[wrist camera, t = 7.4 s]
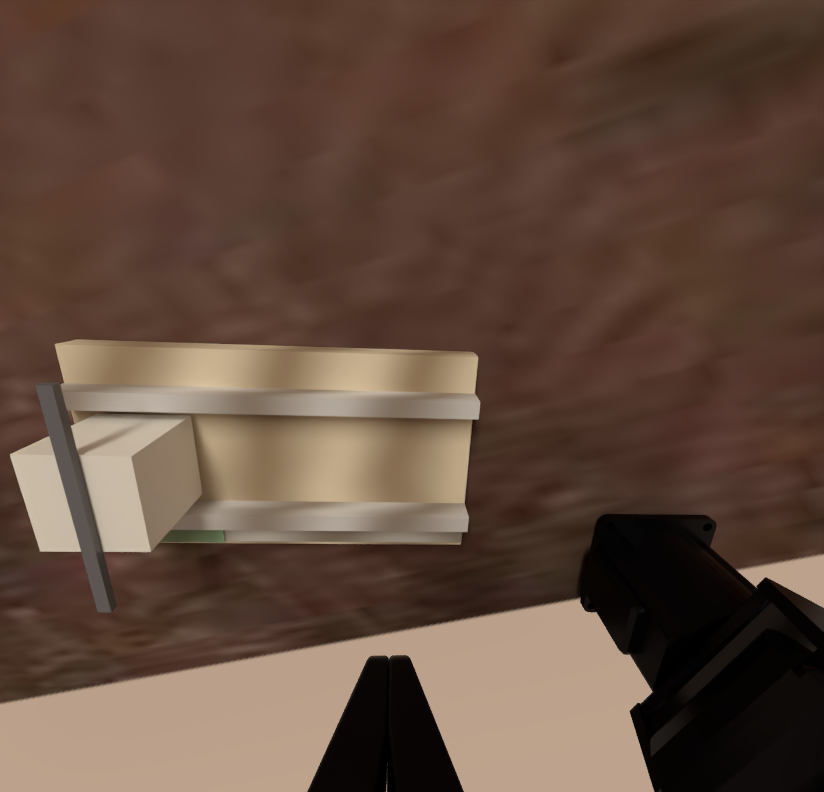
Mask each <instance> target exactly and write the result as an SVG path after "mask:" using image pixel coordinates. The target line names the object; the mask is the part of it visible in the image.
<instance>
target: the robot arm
mask: <svg viewBox="0 0 824 792" xmlns="http://www.w3.org/2000/svg"><path fill="white" fill-rule="evenodd" d="M608 523H610V524H609V525H608V526H606V525H607V524H608ZM716 525H717V524H716V522H715V521H714V520H712V519H711V518H710V517H708V516H706V515H638V514H606V515H603V516H601V517H600V518H599V520H598V523H597V528H596V532H595V537H594V541H593V546H592V550H591V552H590V554H589V558H588V562H587V567H586V571H585V576H584V580H583V585H582V588H583V591H582V595H581V600H580V603H581V604H582V606H583V608H584V610H585V611H587V612H597V614H598V615H599V617H600V619H601V620H602V622H603V624H604V625H605V627H606V629H607V630H608V632H609V634H610V636H611V637H612V639H613V641H614V642H615V644H616V645H617V647H618V649H619V650H620V651H621V652H622V653H623V654H625V655H631V657H632V659H633V660H634V662H635V663H636V665H637V667H638V668H639V670H640V672H641V673H642V675H643V676H644V678H645V680H646V681H647V683H648V685H649V686H650V688H651V690H652V691H653V692H652V693H651V695H649V696H648V697H647V698H646V699H645V700H644V701H643V702H642V703H641V704H640V703H637V704H636V705H635V706H634V707H633V708H632V709H631V710H630V714H631V717H632V720H633V724H634V727H635V730H636V733H637V736H638V740H639V743H640V746H641V750H642V753H643V756H644V760H645V763H646V766H647V769H648V773H649V776H650V779H651V782H652V786H653V788H654V792H824V608H823V607H821V606H819V605H817V604H815V603H813V602H812V601H810V600H808V599H806V598H804V597H802V596H800V595H798V594H796V593H795V592H793V591H791V590H789V589H787V588H785V587H783V586H781V585H780V584H778V583H776V582H774V581H772V580H770V579H768V578H764V579H763V580H762V581H761V582H760V583H759V584H758V585H757V588H758V589H757V588H756V587H755V586H754V585H752V584H751V583H750V582H749V581H748V580H747V579H746V578H745V577H743V576H742V575H741V574H740V573H739V572H738V571H737V570H735V569H734V568H733V567H732V566H731V565H730V564H729V563H727V562H726V561H725V560H724V559H723V558H722V557H721V556H719V555H718V554H717V553H716V552H715V551H714V550H712V549H711V548H710V545H711V542H712V539H713V536H714V533H715V530H716ZM386 785H387V792H464V791H463V789H462V786H461V784H460V781H459V779H458V776H457V774H456V771H455V769H454V766H453V764H452V761H451V759H450V756H449V754H448V751H447V749H446V746H445V744H444V741H443V739H442V736H441V734H440V731H439V729H438V727H437V724H436V721H435V719H434V716H433V714H432V711H431V709H430V706H429V704H428V701H427V699H426V696H425V694H424V691H423V689H422V686H421V684H420V682H419V679H418V676H417V674H416V672H415V669H414V667H413V664H412V662H411V659H410V658H409V657H408V656H406V655H402V656H401V655H399V656H398V655H397V656H391V657H390V659H389V658H388V657H387V656H371V657H369V658H368V660H367V661H366V664H365V666H364V668H363V670H362V672H361V675H360V677H359V679H358V682H357V684H356V686H355V688H354V690H353V692H352V694H351V697H350V699H349V701H348V703H347V706H346V708H345V710H344V712H343V714H342V717H341V719H340V721H339V723H338V725H337V728H336V730H335V732H334V734H333V737H332V739H331V741H330V743H329V745H328V747H327V750H326V752H325V754H324V757H323V759H322V761H321V763H320V765H319V767H318V770H317V772H316V774H315V776H314V778H313V781H312V783H311V785H310V787H309V789H308V792H386Z"/></svg>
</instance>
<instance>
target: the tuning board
mask: <svg viewBox="0 0 824 792" xmlns="http://www.w3.org/2000/svg"><path fill="white" fill-rule="evenodd" d="M55 347H56V351H57V355H58V359H59V363H60V367H61V371H62V375H63V379H64V383H63V384H60V385H61V389H62V393H63V397H64V401H65V405H66V409H67V410H71V411H72V415H73V419H74V423H75V424H76V423H78V422H81V421H83V420H85V419H87V418H89V417H91V416H93V415H96V414H98V413H100V414H146V415H191V420H192V427H193V434H194V440H195V447H196V454H197V460H198V467H199V474H200V480H201V487H202V495H201V496H200V497H199V498H198V499H197V500H196V502H195V503H194V504H193V505H192V506H191V507H190V508H189V509H188V511H187V512H186V513H185V514H184V515H183V516H182V517H181V518H180V520H179V521H178V522H177V523H176V524H175V525H174V526H173V528H172V529H171V530H170V531H169V532H168V533H167V534H166V535H165V537H164V538H163V539H162V540H161V541H160V542H159V543H290V544H453V545H461V540H462V532H467V531H468V521H469V517H468V513H467V510H466V507H465V493H466V482H467V472H468V461H469V450H470V439H471V429H472V419H477V420H479V410H480V401H479V399H478V398H477V396H476V395H475V386H476V375H477V365H478V356H477V355H476V354H475V353H474V352H462V351H430V350H398V349H366V348H333V347H301V346H269V345H237V344H205V343H172V342H140V341H108V340H73V341H68V342H63V343H58V344H55Z"/></svg>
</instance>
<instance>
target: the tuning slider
mask: <svg viewBox="0 0 824 792" xmlns="http://www.w3.org/2000/svg"><path fill="white" fill-rule="evenodd" d="M35 386H36V390H37V393H38V397H39V400H40V404H41V408H42V411H43V415H44V419H45V422H46V426H47V429H48V433H49V436H48V437H46V438H44V439H42V440H40V441H38V442H36V443H33V444H31V445H29V446H27V447H25V448H23V449H21V450H18V451H16V452H14V453H12V454H10V457H11V460H12V463H13V466H14V470H15V473H16V476H17V479H18V482H19V485H20V489H21V492H22V495H23V498H24V501H25V504H26V508H27V511H28V514H29V517H30V520H31V523H32V527H33V530H34V533H35V536H36V539H37V543H38V546H39V549H40V551H54V552H81V553H82V556H83V560H84V564H85V567H86V571H87V575H88V578H89V582H90V585H91V589H92V593H93V596H94V600H95V604H96V607H97V611H98V612H112V611H113V610H114V608H115V607H116V606H117V605H116V601H115V597H114V593H113V590H112V586H111V582H110V578H109V574H108V570H107V566H106V562H105V558H104V554H103V552H151V551H152V550H153V549H154V548H155V547H156V546H157V545H158V543H159V542H160V541H161V540H162V539H163V538H164V537H165V535H166V534H167V533H168V532H169V531H170V530H171V529H172V528H173V526H174V525H175V524H176V523H177V522H178V521H179V520H180V518H181V517H182V516H183V515H184V514H185V513H186V512H187V511H188V509H189V508H190V507H191V506H192V505H193V504H194V503H195V502H196V500H197V499H198V498H199V497H200V496H201V495H202V487H201V480H200V474H199V467H198V460H197V454H196V447H195V440H194V434H193V427H192V420H191V415H146V414H100V413H98V414H96V415H93V416H91V417H89V418H87V419H85V420H83V421H81V422H78V423H76V424H74V425H72V426H71V425H70V421H69V417H68V413H67V409H66V405H65V401H64V397H63V393H62V389H61V385H60V383H41V384H37V385H35Z"/></svg>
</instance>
